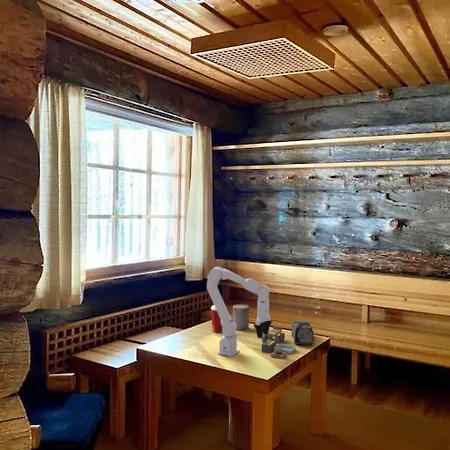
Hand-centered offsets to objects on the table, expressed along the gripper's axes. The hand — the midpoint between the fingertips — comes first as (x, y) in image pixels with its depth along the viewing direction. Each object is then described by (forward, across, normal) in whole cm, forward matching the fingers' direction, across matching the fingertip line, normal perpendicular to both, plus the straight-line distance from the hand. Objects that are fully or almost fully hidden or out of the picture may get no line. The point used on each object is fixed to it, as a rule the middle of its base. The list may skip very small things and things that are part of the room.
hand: (262, 336), depth 249 cm
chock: (+10, +8, 0) cm, 13 cm away
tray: (+10, +11, -8) cm, 17 cm away
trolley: (+10, +24, +3) cm, 26 cm away
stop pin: (+10, +2, -8) cm, 13 cm away
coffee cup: (+10, +27, +40) cm, 49 cm away
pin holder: (+10, +2, -8) cm, 13 cm away
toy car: (+10, +35, -9) cm, 38 cm away
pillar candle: (+10, +40, +31) cm, 51 cm away
